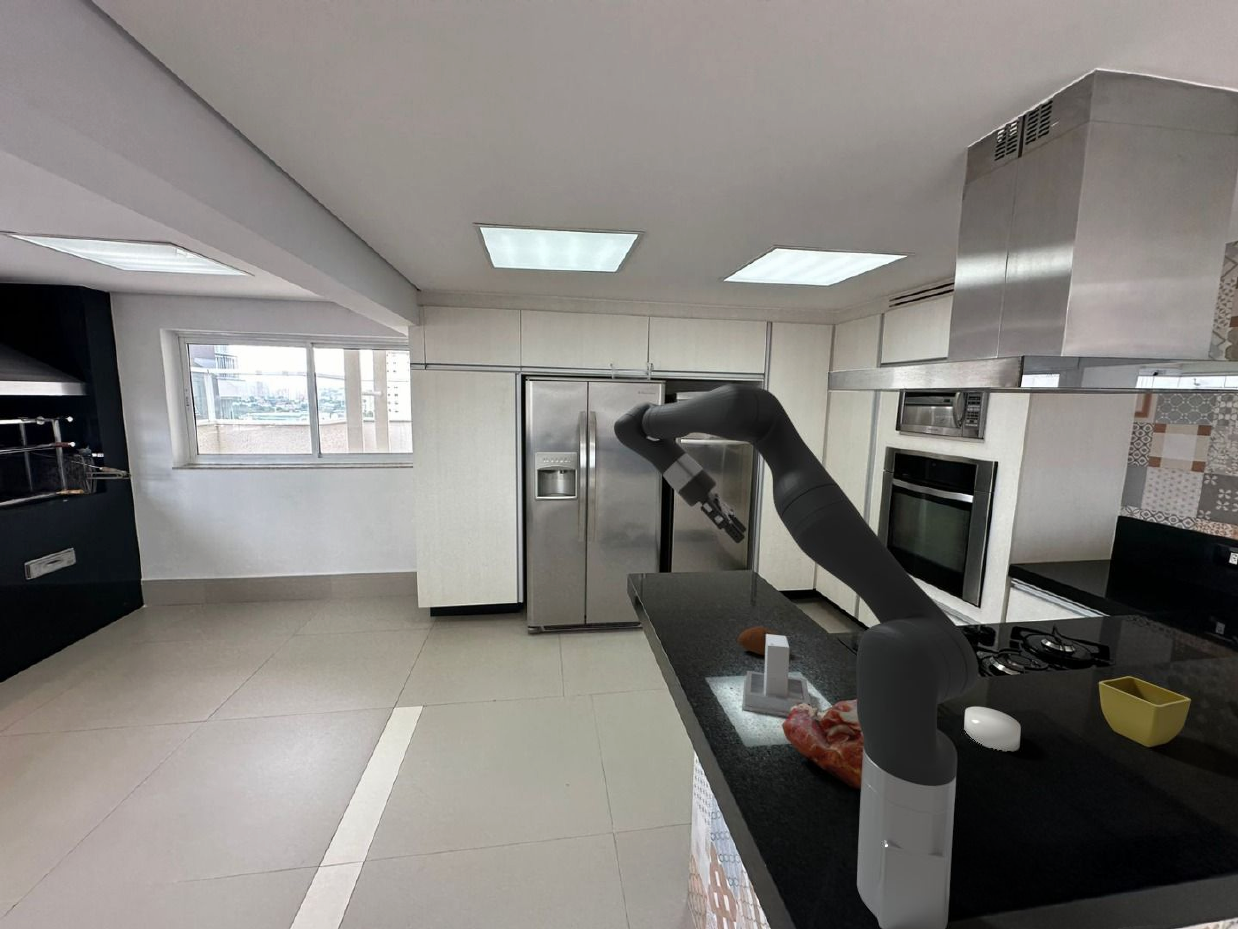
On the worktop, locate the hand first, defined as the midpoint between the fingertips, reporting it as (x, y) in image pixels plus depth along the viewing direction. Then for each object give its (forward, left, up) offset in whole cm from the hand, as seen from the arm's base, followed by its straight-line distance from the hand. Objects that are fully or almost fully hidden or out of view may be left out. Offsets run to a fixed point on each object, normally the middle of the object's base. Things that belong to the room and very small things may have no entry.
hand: (742, 536), depth 104 cm
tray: (-3, -8, -33) cm, 34 cm away
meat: (-16, -19, -33) cm, 41 cm away
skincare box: (-3, -7, -32) cm, 33 cm away
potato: (+19, -5, -33) cm, 38 cm away
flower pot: (+4, -71, -33) cm, 78 cm away
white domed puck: (-4, -45, -33) cm, 56 cm away
